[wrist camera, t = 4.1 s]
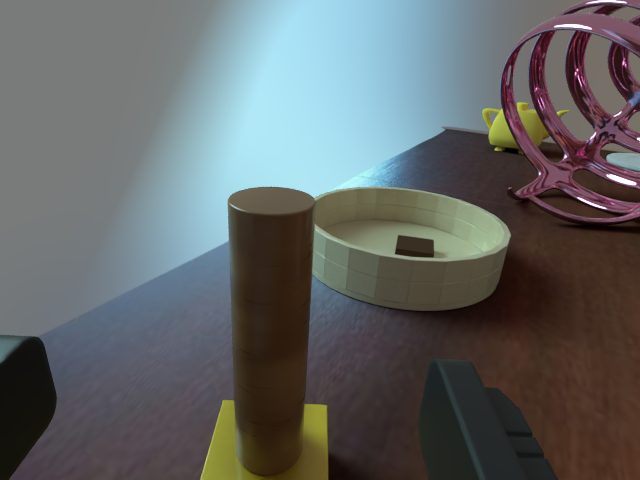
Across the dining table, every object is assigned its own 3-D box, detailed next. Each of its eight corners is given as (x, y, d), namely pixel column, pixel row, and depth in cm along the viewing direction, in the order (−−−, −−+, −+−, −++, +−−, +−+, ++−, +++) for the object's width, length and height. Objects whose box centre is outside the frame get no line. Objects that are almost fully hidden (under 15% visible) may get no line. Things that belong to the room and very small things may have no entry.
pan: (275, 288, 36) (276, 239, 34) (325, 214, 53) (327, 179, 51) (516, 329, 32) (531, 277, 30) (485, 236, 49) (494, 199, 48)
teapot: (557, 152, 101) (571, 105, 97) (557, 160, 92) (572, 109, 88) (479, 141, 108) (488, 97, 104) (471, 148, 99) (481, 100, 95)
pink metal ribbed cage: (546, 51, 37) (776, -116, 39) (412, 98, 64) (551, -1, 66) (658, 294, 44) (847, 144, 46) (496, 244, 71) (619, 151, 73)
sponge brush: (198, 550, 17) (167, 223, 11) (225, 444, 21) (212, 174, 16) (324, 556, 17) (355, 233, 11) (323, 449, 22) (346, 181, 16)
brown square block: (394, 259, 41) (395, 248, 40) (396, 245, 44) (398, 234, 44) (432, 265, 40) (434, 254, 40) (431, 250, 43) (433, 239, 43)
